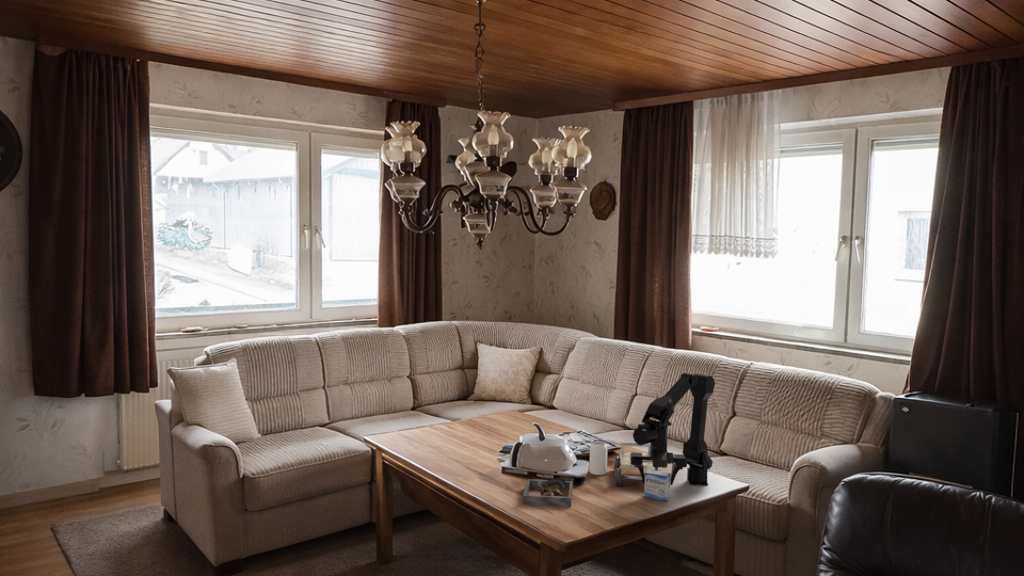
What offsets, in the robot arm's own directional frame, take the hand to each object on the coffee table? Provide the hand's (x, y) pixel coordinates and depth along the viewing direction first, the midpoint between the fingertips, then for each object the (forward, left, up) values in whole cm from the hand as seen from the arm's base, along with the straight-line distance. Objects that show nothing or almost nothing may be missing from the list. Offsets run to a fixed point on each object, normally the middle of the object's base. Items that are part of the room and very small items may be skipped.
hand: (657, 484), depth 244 cm
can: (+20, -22, -5) cm, 30 cm away
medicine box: (0, 0, -5) cm, 5 cm away
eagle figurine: (+36, +4, -5) cm, 36 cm away
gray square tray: (+37, +5, -4) cm, 38 cm away
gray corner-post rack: (+6, -17, -4) cm, 19 cm away
